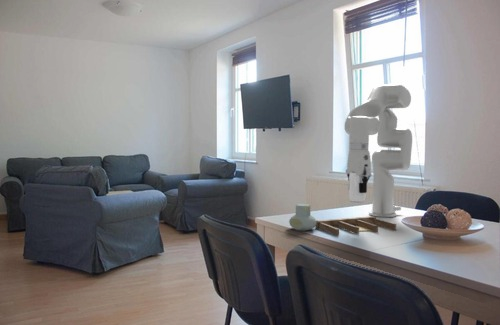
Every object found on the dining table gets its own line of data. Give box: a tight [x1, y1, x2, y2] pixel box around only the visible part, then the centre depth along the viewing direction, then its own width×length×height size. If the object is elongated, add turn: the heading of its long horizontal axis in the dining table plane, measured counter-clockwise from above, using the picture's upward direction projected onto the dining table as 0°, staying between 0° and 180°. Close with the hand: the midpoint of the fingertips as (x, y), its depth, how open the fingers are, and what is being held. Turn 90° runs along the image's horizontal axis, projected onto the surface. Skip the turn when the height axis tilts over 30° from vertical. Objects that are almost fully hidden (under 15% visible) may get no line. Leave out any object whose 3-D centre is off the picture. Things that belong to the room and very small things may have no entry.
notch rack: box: [314, 215, 397, 237], centre depth 165 cm, size 29×15×3 cm, turn 111°
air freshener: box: [288, 203, 317, 232], centre depth 163 cm, size 11×8×10 cm
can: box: [348, 172, 367, 203], centre depth 164 cm, size 6×6×12 cm
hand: (357, 191), depth 164 cm, fingers closed on can, 6 cm apart
